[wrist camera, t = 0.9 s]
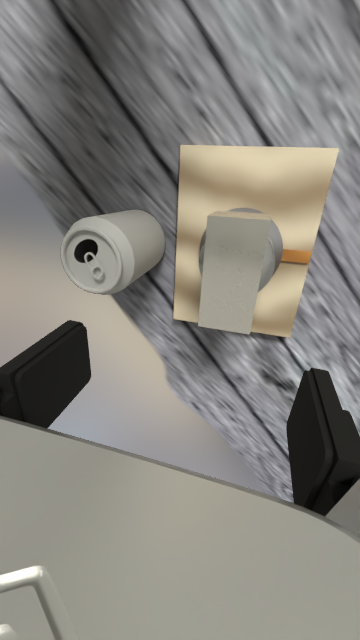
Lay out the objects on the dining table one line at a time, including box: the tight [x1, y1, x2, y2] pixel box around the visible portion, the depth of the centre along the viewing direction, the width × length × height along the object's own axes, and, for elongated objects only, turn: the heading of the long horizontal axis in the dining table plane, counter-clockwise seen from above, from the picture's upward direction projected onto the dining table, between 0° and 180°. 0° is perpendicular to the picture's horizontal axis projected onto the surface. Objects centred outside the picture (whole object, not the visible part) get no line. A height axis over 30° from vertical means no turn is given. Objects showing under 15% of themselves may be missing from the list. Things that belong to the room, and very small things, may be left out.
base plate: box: [174, 145, 339, 338], centre depth 31 cm, size 20×15×2 cm
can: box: [60, 209, 166, 295], centre depth 30 cm, size 8×8×12 cm
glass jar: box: [198, 210, 275, 335], centre depth 26 cm, size 10×7×10 cm
